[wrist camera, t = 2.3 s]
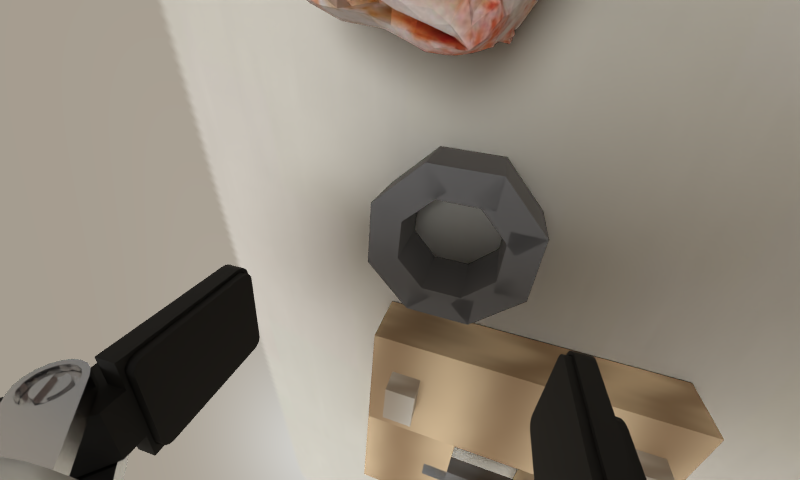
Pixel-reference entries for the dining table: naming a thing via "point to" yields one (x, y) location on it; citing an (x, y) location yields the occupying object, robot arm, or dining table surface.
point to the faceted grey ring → (445, 279)
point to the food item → (437, 21)
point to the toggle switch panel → (505, 403)
